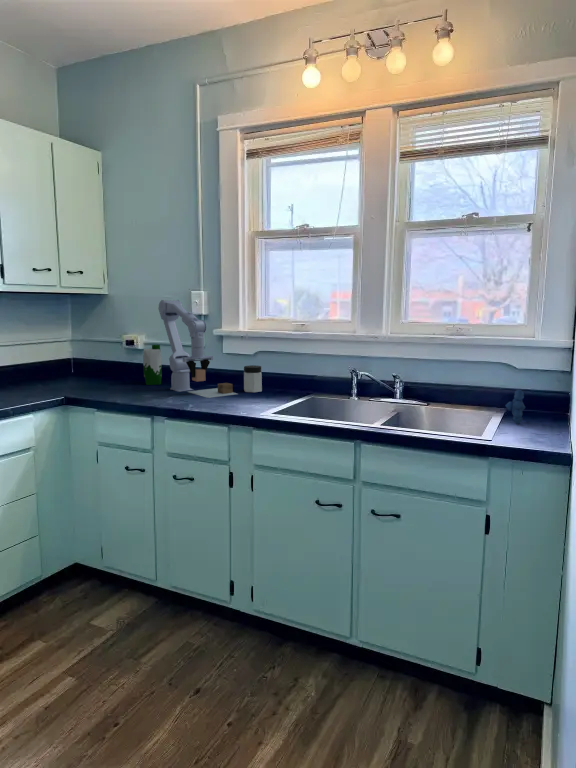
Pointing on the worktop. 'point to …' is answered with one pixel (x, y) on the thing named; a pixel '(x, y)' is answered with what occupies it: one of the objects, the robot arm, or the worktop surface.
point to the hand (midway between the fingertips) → (198, 376)
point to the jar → (252, 378)
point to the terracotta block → (199, 375)
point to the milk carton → (152, 365)
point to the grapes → (517, 406)
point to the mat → (210, 393)
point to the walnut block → (225, 388)
